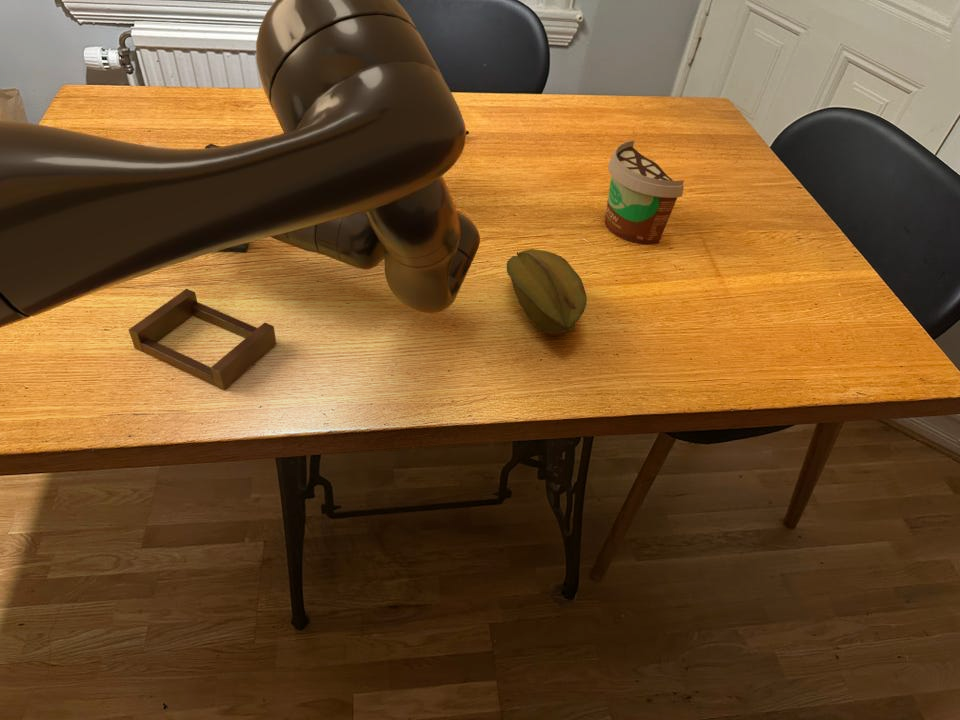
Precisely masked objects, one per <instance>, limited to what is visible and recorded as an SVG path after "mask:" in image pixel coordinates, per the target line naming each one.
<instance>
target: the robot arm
mask: <svg viewBox="0 0 960 720" xmlns="http://www.w3.org/2000/svg"><path fill="white" fill-rule="evenodd" d="M255 45H256V46H255V62H256V65H257V70H258V74H259V80H260V84H261V86H262V89H263V91H264V94H265V96H266V98H267V101H268V103H269V105H270V108H271V109H272V111H273V113H274V115H275V117H276V119H277V121H278V124H279V126H280V127H281V130H282V132H283V133H280V134H275V135H272V136H268V137H264V138H259V139H254V140H249V141H244V142H238V143H233V144H228V145H223V146H221V145H218V144H217V145H216V144H213V143H209V144H207V145H205V146H204V148H170V147H168V148H159V147H152V146H146V145H142V144H139V143H133V142H127V141H123V140H117V139H112V138H107V137H104V136H98V135H94V134H88V133H85V132H84V133H83V132H79V131H74V130H69V129H65V128H60V127H55V126H50V125H49V126H48V125H42V124H36V123H31V122H25V121H16V120H8V119H7V120H5V119H0V329H1V328H4V327H6V326H7V327H8V326H10V325H13V324H16V323H18V322H21V321H23V320H24V321H25V320H27V319H29V318H32V317H36V316H38V315H41V314H43V313H46V312H48V311H51V310H53V309H56V308H58V307H61V306H63V305H66V304H68V303H70V302H71V303H72V302H74V301H77V300H78V299H81V298H83V297H87V296H89V295H92V294H94V293H97V292H101V291H103V290H105V289H107V288H112V287H113V286H116V285H119V284H122V283H125V282H128V281H131V280H133V279H134V280H135V279H136V278H140V277H143V276H146V275H148V274H152V273H153V272H157V271H160V270H162V269H165V268H168V267H171V266H174V265H177V264H180V263H183V262H186V261H189V260H192V259H196V258H199V257H202V256H206V255H209V254H212V253H215V252H219V251H218V250H222V249H225V248H229V247H232V246H236V245H240V244H244V243H248V242H249V243H252V242H255V241H259V240H263V239H266V238H272V239H274V240H276V241H279V242H282V243H285V244H288V245H289V246H292V247H295V248H298V249H300V250H303V251H305V252H310V253H315V254H318V255H322V256H325V257H328V258H330V259H333V260H335V261H338V262H340V263H343V264H346V265H348V266H351V267H353V268H356V269H360V270H371V269H374V268H376V267H377V266H378V265H379V264H381V263H382V262H384V275H385V280H386V282H387V285H388V287H389V290H390V291H391V292H392V294H393V295H394V296H395V297H396V299H397V300H398V301H399V302H401V304H403V305H404V306H405V307H407V308H409V309H411V310H412V311H415V312H419V313H421V314H428V315H429V314H430V315H432V314H438V313H442V312H444V311H445V310H447V309H448V308H450V307H451V306H452V305H453V303H454V302H455V301H456V298H457V297H458V294H459V292H460V290H461V288H462V286H463V284H464V282H465V279H466V277H467V274H468V273H469V270H470V268H471V266H472V264H473V261H474V260H475V258H476V254H477V253H478V250H479V248H480V244H481V236H480V232H479V229H478V227H477V226H476V224H475V223H474V222H473V220H472V219H470V217H468V216H466V215H465V214H463V213H462V212H460V211H458V210H457V209H456V205H455V202H454V199H453V196H452V194H451V192H450V191H451V190H450V189H449V187H448V184H447V182H446V180H445V178H444V175H445V174H446V173H447V172H448V171H450V170H451V168H453V166H454V165H455V164H456V163H457V162H458V160H459V159H460V157H461V156H462V154H463V151H464V149H465V147H466V140H467V139H466V138H467V135H466V131H467V129H466V123H465V120H464V117H463V114H462V113H461V112H462V111H461V110H460V107H459V105H458V102H457V101H456V99H455V97H454V94H453V93H452V91H451V89H450V87H449V85H448V83H447V82H446V80H445V79H444V77H443V74H442V72H441V70H440V69H439V67H438V65H437V63H436V62H435V60H434V58H433V56H432V54H431V52H430V51H429V48H428V46H427V45H426V43H425V41H424V39H423V38H422V36H421V34H420V33H419V30H418V29H417V27H416V25H415V23H414V22H413V20H412V18H411V17H410V15H409V13H408V12H407V11H406V10H405V9H404V7H403V6H402V4H400V2H399V1H398V0H275V1H274V2H273V3H272V5H271V6H270V7H269V8H268V10H267V11H266V12H265V15H264V17H263V19H262V21H261V24H260V26H259V28H258V33H257V37H256V42H255Z"/></svg>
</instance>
